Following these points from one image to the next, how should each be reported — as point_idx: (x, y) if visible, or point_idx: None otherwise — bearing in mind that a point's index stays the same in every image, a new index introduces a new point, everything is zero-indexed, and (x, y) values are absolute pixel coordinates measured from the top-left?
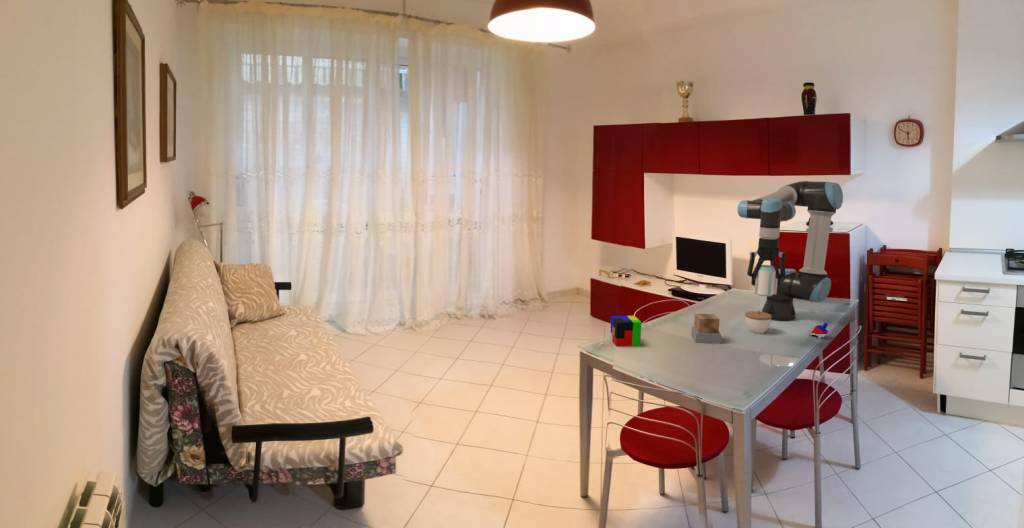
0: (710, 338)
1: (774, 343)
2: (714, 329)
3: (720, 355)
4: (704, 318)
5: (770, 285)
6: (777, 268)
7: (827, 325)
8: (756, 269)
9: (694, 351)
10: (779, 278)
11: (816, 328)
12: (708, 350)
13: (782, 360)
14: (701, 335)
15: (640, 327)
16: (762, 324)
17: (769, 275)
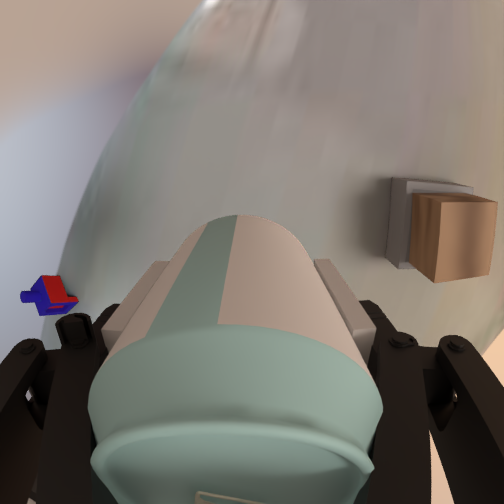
0: (428, 181)
1: (200, 201)
2: (432, 195)
3: (412, 60)
4: (485, 207)
5: (205, 242)
6: (51, 430)
7: (22, 292)
8: (424, 413)
9: (469, 101)
10: (80, 323)
11: (52, 297)
12: (437, 107)
13: (229, 20)
14: (457, 185)
15: None
16: None
17: (214, 290)
